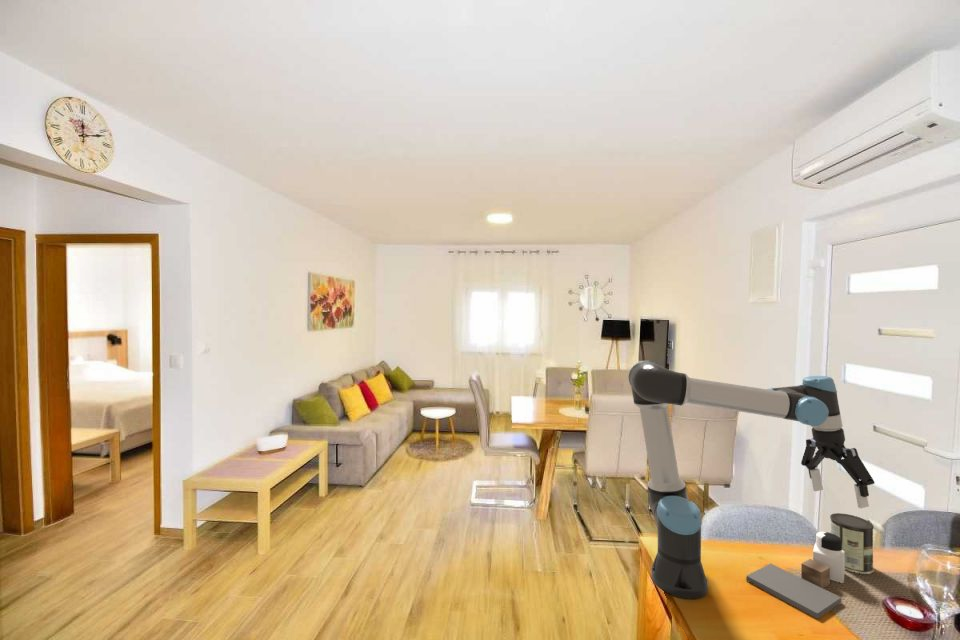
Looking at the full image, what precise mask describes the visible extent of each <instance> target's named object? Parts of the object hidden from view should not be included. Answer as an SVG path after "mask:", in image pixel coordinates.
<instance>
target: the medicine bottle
mask: <svg viewBox="0 0 960 640" xmlns="http://www.w3.org/2000/svg"><path fill="white" fill-rule="evenodd" d="M815 535H816V538H815V539H816V540H815V543H814V546H813V550H812V560H814V561H816V562H818V563H821V564H823V565H825V566H828V567H830V581H833V582H836V583H839V582H840V584H842V583H843V584H844V583H845V574H846V573H845V571H846V570H845V551H843V550H842V540H841V539H840V538H839V537H838V536H836V535H834V534H832V533H831V532H828V531H818V532H817V533H815Z"/></svg>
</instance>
